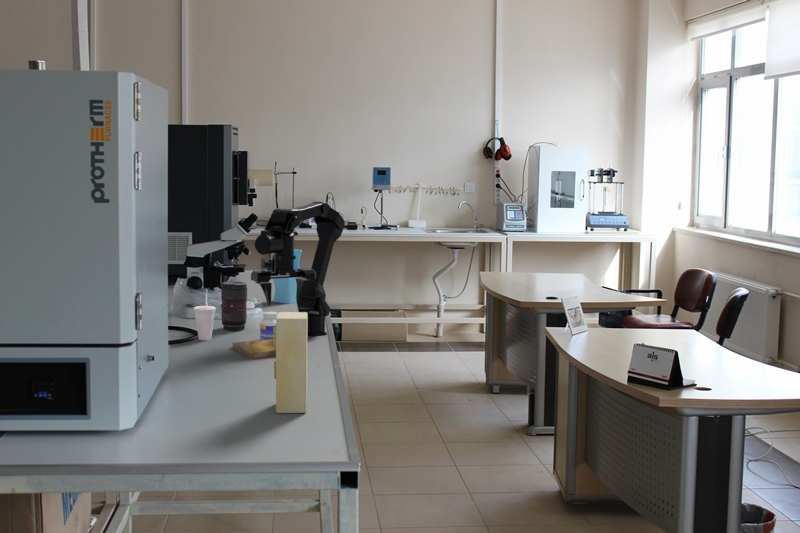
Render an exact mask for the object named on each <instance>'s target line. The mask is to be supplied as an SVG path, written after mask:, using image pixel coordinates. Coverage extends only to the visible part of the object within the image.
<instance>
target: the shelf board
mask: <svg viewBox="0 0 800 533" xmlns="http://www.w3.org/2000/svg"><path fill="white" fill-rule="evenodd" d="M232 349H234V350H236V351H237V352H239V353H240V354H243V355H244V356H246V357H247V358H249V359H257V358H259V359H260V358H267V357H276V345H273V339H271V340H261V341H260V339H255V340H246V341H235V342H232Z"/></svg>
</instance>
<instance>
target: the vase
mask: <svg viewBox="0 0 800 533" xmlns="http://www.w3.org/2000/svg"><path fill="white" fill-rule="evenodd" d="M302 253H303V250H302V249H295V248H294V256H296V259H294V269H295V271H297V269H298V268H301V266H300V261H301V260H300V259H301V256H302ZM278 275H279V274H278ZM296 278H298V277H294V278H277V279H272V280H273V286H274V296H273V300H272V302H274V303H280V304H284V305H285V304H287V305H288V304H289V305H290V304H297V302H296V292H297V283H296Z"/></svg>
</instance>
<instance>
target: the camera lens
mask: <svg viewBox="0 0 800 533" xmlns="http://www.w3.org/2000/svg"><path fill="white" fill-rule="evenodd" d="M221 284H222V285H221V289H220V290H221V291H220V292H221V294H220V295H221V304H220V309H221V317H220V318H221V325H222V326H223V330H224V331H226V332H227V331H228V332H239V331H242V330H245V329H246V328H245V327H246V325H247V324H246V323H247V313H248V312H247V300H248V287H247V286H248V284H247V282H243V281H223V282H222V283H221Z"/></svg>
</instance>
